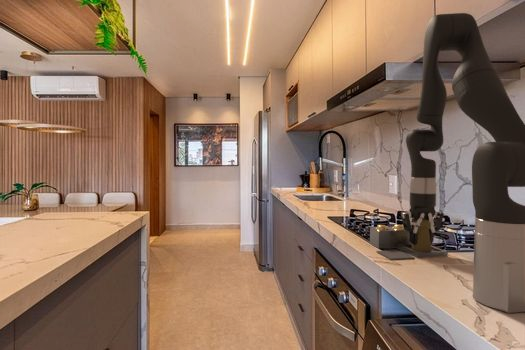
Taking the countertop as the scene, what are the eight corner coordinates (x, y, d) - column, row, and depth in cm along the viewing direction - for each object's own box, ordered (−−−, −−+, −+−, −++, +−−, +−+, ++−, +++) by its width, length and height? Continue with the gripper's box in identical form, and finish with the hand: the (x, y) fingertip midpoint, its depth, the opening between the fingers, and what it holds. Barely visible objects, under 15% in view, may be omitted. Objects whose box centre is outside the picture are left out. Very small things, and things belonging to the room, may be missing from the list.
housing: (447, 256, 95) (448, 237, 95) (397, 258, 92) (398, 239, 92) (412, 242, 112) (412, 226, 112) (369, 243, 109) (370, 227, 109)
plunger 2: (405, 240, 106) (405, 226, 106) (397, 240, 106) (397, 226, 106) (400, 238, 109) (400, 224, 109) (392, 238, 109) (392, 224, 109)
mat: (414, 258, 92) (414, 257, 92) (390, 259, 91) (390, 258, 91) (399, 251, 100) (399, 250, 100) (376, 252, 99) (376, 250, 99)
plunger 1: (387, 240, 105) (388, 226, 105) (379, 241, 105) (380, 226, 105) (383, 238, 108) (383, 224, 108) (375, 239, 108) (375, 225, 108)
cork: (406, 251, 100) (407, 218, 100) (418, 248, 103) (419, 216, 103) (423, 256, 95) (424, 221, 95) (436, 253, 98) (436, 219, 97)
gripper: (409, 192, 94) (408, 247, 94) (451, 192, 96) (449, 246, 96) (395, 190, 101) (394, 241, 102) (434, 190, 103) (433, 240, 104)
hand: (421, 243), depth 99 cm, fingers open, 5 cm apart
